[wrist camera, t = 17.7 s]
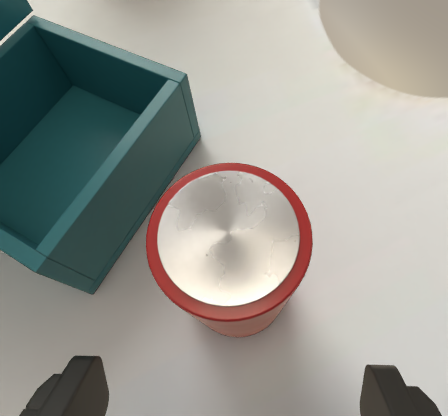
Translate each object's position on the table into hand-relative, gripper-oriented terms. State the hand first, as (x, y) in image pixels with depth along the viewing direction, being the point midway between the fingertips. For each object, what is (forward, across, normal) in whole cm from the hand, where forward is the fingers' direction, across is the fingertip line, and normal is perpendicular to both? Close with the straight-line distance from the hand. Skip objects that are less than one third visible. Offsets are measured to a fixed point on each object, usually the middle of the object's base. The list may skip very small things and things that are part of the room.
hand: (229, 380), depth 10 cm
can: (+12, 0, +5) cm, 13 cm away
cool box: (+18, +13, -2) cm, 22 cm away
